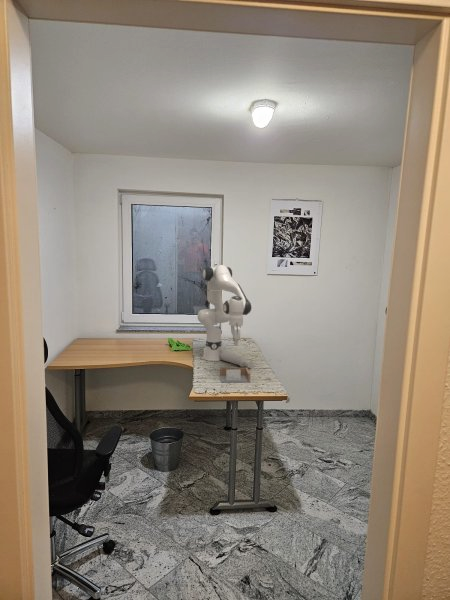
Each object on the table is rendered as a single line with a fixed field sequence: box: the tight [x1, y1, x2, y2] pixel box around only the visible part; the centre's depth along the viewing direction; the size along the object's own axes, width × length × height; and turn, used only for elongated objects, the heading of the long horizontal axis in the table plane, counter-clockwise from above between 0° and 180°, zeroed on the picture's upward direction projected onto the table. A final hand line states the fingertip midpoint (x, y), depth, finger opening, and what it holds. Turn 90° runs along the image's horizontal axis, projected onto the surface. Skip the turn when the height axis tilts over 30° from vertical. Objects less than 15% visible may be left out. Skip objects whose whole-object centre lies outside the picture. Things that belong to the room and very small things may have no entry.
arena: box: [219, 367, 251, 384], centre depth 231 cm, size 13×18×6 cm
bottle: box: [220, 348, 253, 369], centre depth 264 cm, size 9×9×30 cm
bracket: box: [226, 369, 241, 381], centre depth 228 cm, size 9×4×6 cm, turn 95°
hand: (235, 343), depth 231 cm, fingers open, 8 cm apart
